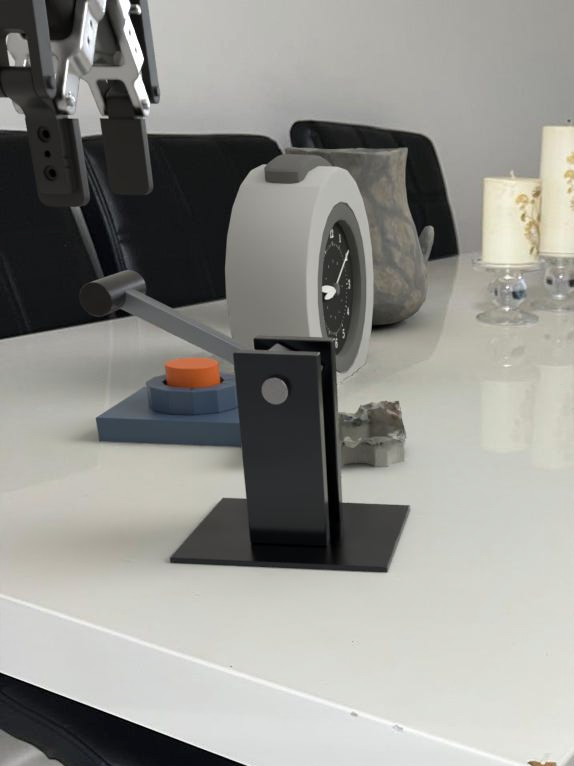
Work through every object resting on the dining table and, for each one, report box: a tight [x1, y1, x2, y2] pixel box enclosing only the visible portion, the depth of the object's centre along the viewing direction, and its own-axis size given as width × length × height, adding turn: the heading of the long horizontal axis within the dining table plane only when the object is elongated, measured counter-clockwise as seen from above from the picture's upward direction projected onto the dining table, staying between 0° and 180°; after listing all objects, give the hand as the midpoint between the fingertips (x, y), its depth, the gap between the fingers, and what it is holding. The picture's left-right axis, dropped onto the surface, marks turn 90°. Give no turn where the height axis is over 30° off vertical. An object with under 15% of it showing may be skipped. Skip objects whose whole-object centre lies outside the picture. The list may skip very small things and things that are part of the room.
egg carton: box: [338, 400, 408, 468], centre depth 72 cm, size 11×8×4 cm
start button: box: [164, 357, 220, 388], centre depth 77 cm, size 4×4×2 cm
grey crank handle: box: [79, 269, 323, 371], centre depth 54 cm, size 12×5×2 cm, turn 86°
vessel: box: [284, 146, 435, 326], centre depth 121 cm, size 22×22×20 cm
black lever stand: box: [169, 335, 411, 573], centre depth 56 cm, size 12×10×12 cm
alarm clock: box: [224, 153, 373, 385], centre depth 95 cm, size 21×8×20 cm, turn 170°
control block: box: [95, 371, 242, 448], centre depth 78 cm, size 12×10×4 cm
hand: (101, 200), depth 51 cm, fingers open, 8 cm apart
